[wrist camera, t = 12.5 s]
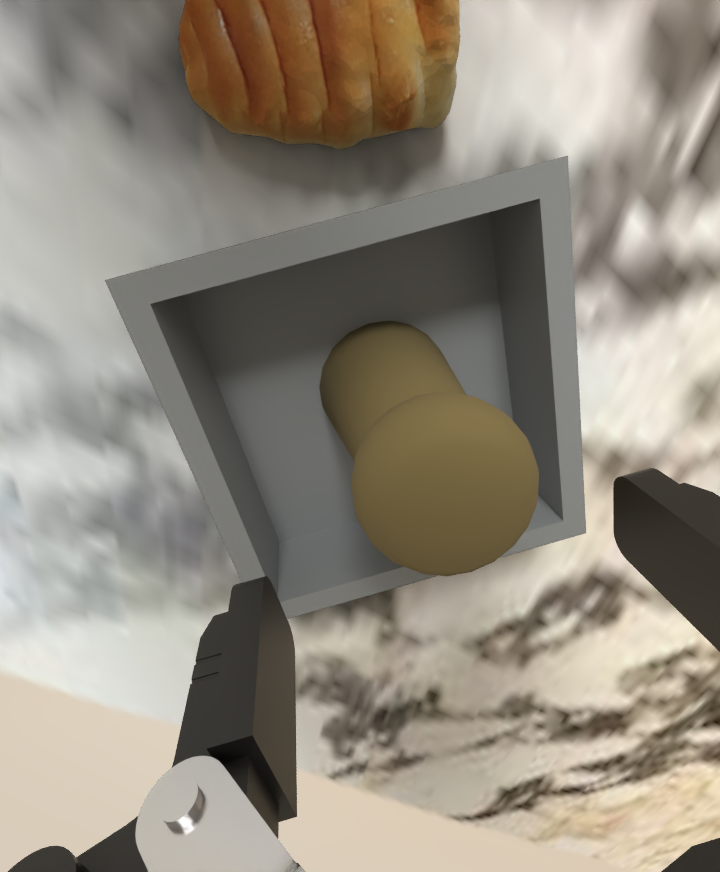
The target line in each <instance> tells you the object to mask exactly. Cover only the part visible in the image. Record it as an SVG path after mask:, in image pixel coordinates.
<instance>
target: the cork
mask: <svg viewBox="0 0 720 872" xmlns="http://www.w3.org/2000/svg"><path fill="white" fill-rule="evenodd" d="M319 389H320V395H321V401H322V407H323V409H324V410H325V412H326V414H327V416H328V418H329V420H330V422H331V423H332V425H333V427H334V428H335V430H336V432H337V433H338V435H339V437H340V438H341V440H342V442H343V443H344V445H345V447H346V448H347V450H348V452H349V453H350V455H351V456H352V458H353V460H354V461H355V462H354V467H353V471H352V476H351V481H350V482H351V489H352V495H353V502H354V508H355V513H356V517H357V519H358V521H359V523H360V524H361V526H362V528H363V530H364V532H365V533H366V535H367V537H368V538H369V540H370V541H371V542H372V544H373V545H374V546H375V548H377V549H378V550H379V551H380V552H381V553H383V554H384V555H385V556H386V557H387V558H389V559H390V560H391V561H392V562H394V563H396V564H399V565H401V566H404V567H406V568H409V569H411V570H414V571H417V572H419V573H422V574H426V575H440V576H451V575H456V574H462V573H467V572H472V571H474V570H476V569H478V568H481V567H483V566H485V565H487V564H489V563H492V562H494V561H495V560H497V559H498V558H499V557H500V556H502V555H503V554H504V553H505V552H507V551H508V550H509V549H511V548H512V547H513V546H514V545H515V544H516V542H517V541H518V540H519V538H520V537H521V536H522V534H523V533H524V532H525V530H526V529H527V528H528V526H529V524H530V521H531V518H532V516H533V513H534V511H535V508H536V505H537V500H538V487H539V469H538V466H537V463H536V460H535V457H534V454H533V451H532V448H531V446H530V444H529V441H528V439H527V437H526V436H525V435H524V433H523V432H522V431H521V430H520V429H519V428H518V426H517V425H516V424H515V423H514V422H513V420H512V419H511V418H510V417H509V416H508V415H506V414H505V413H504V412H503V411H501V410H500V409H498V408H496V407H494V406H492V405H491V404H489V403H487V402H485V401H483V400H481V399H479V398H478V397H473V396H468V395H466V393H465V391H464V389H463V388H462V386H461V384H460V383H459V381H458V379H457V377H456V376H455V374H454V372H453V371H452V369H451V367H450V365H449V364H448V362H447V360H446V359H445V357H444V355H443V354H442V352H441V350H440V349H439V348H438V346H437V345H436V344H435V343H434V342H433V341H432V339H431V338H430V337H429V336H428V335H427V334H426V333H424V332H422V331H420V330H419V329H417V328H415V327H413V326H412V325H410V324H405V323H400V322H394V321H382V322H375V323H368V324H366V325H364V326H362V327H360V328H358V329H356V330H354V331H352V332H350V333H348V334H347V335H346V336H345V337H344V338H343V339H342V340H341V341H340V342H338V343H337V344H336V345H335V346H334V347H333V348H332V350H331V352H330V354H329V356H328V358H327V360H326V362H325V363H324V365H323V368H322V374H321V380H320V386H319Z"/></svg>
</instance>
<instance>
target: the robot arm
mask: <svg viewBox="0 0 720 872" xmlns="http://www.w3.org/2000/svg"><path fill="white" fill-rule="evenodd" d="M614 537H615V540H616V543H617V545H618V548H619V549H620V551H621V553H622V554H623V556H624V557H625V558H626V559H627V560H628V561H629V562H630V563H631V564H632V565H633V566H634V567H635V568H636V569H637V570H638V571H639V572H640V573H641V574H642V575H643V576H644V577H645V578H646V579H647V580H648V581H649V582H650V583H651V584H652V585H653V586H654V587H655V588H656V589H657V590H658V591H659V592H660V593H661V594H662V595H663V596H664V597H665V598H666V599H667V600H668V601H669V602H670V603H671V604H672V605H673V606H674V607H675V608H676V609H677V610H678V611H679V612H680V613H681V614H682V615H683V616H684V617H685V618H686V619H687V620H688V621H689V622H690V623H691V624H692V625H693V626H694V627H695V628H696V629H697V630H698V631H699V632H700V633H701V634H702V635H703V636H704V637H705V638H706V639H707V640H708V641H709V642H710V643H711V644H712V645H713V646H714V647H715V648H716V649H717V650H718V651H719V652H720V497H719V496H718V495H716V494H715V493H713V492H710V491H707V490H704V489H701V488H698V487H695V486H692V485H690V484H687V483H682V484H678V483H677V482H675V481H674V480H672V479H671V478H669V477H668V476H666V475H665V474H663V473H662V472H660V471H659V470H657V469H654V468H648V469H645V470H641V471H638V472H634V473H631V474H627V475H624V476H620V477H618V478H616V479H615V481H614ZM294 817H297V785H296V703H295V648H294V641H293V636H292V632H291V628H290V625H289V623H288V620H287V618H286V615H285V613H284V611H283V608H282V606H281V604H280V601H279V599H278V596H277V594H276V592H275V589H274V587H273V585H272V582H271V580H270V579H269V577H268V576H264V577H261V578H257V579H254V580H250V581H247V582H243V583H240V584H236V585H234V586H233V588H232V591H231V597H230V604H229V610H228V612H226V613H222V614H219V615H215V616H214V617H213V618H212V620H211V622H210V623H209V625H208V627H207V628H206V630H205V631H204V633H203V635H202V636H201V638H200V643H199V647H198V652H197V657H196V665H195V666H194V670H193V675H192V684H190V689H189V694H188V698H187V703H186V707H185V712H184V717H183V721H182V726H181V731H180V735H179V740H178V744H177V749H176V754H175V758H174V762H173V766H172V768H171V769H170V770H169V771H167V772H166V773H165V774H164V775H163V776H162V777H161V778H160V779H159V780H158V781H157V783H156V784H155V785H154V787H153V788H152V789H151V791H150V792H149V794H148V795H147V797H146V799H145V801H144V803H143V805H142V807H141V810H140V812H139V815H138V816H137V817H136V818H135V819H134V820H132V821H131V822H130V823H128V824H127V825H126V826H124V827H123V828H121V829H120V830H118V831H116V832H115V833H113V834H112V835H110V836H109V837H107V838H106V839H104V840H103V841H101V842H99V843H98V844H96V845H95V846H93V847H92V848H90V849H89V850H87V851H86V852H84V853H83V854H81V855H79V856H78V857H75V856H74V855H73V854H72V853H71V852H70V851H69V850H67V849H66V848H64V847H60V846H49V847H46V848H42V849H40V850H38V851H36V852H33V853H32V854H30V855H28V856H27V857H25V858H24V859H22V860H21V861H20V862H18V863H17V864H16V865H15V866H13V868H11V869H10V870H9V871H8V872H305V871H304V869H303V868H302V867H301V866H300V865H299V864H298V863H296V862H295V861H294V860H293V859H292V857H291V856H290V855H289V853H288V852H287V851H286V849H285V848H284V847H283V845H282V844H281V843H280V842H279V840H278V822H280V821H284V820H287V819H290V818H294ZM662 872H720V838H718V839H715V840H711V841H708V842H705V843H701V844H698V845H695V846H692V847H691V848H690V849H688V850H687V851H686V852H685V853H684V854H682V855H681V856H680V857H679V858H677V859H676V860H675V861H674V862H673V863H671V864H670V865H669V866H668V867H667V868H665V869H664V870H663V871H662Z"/></svg>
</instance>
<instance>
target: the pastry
mask: <svg viewBox="0 0 720 872" xmlns="http://www.w3.org/2000/svg"><path fill="white" fill-rule="evenodd" d="M459 32H460V28H459V0H186V1H185V6H184V10H183V14H182V18H181V22H180V33H179V38H178V40H179V46H180V53H181V60H182V64H183V67H184V70H185V79H186V83H187V87H188V90H189V92H190V95H191V97H192V99H193V100H194V101H195V102H196V103H197V104H198V106H199V107H200V108H202V109H203V110H204V111H205V112H207V113H208V114H209V115H210V116H212V117H213V118H214V119H215V120H217V121H218V122H219V123H220V124H221V125H222V126H223V127H225V128H226V129H227V130H228V131H229V132H232V133H235V134H247V135H255V136H265V137H268V138H271V139H274V140H276V141H279V142H281V143H284V144H289V143H291V144H305V143H312V144H322V145H326V146H330V147H333V148H335V149H345V148H349V147H352V146H354V145H355V144H356V143H358V142H359V141H360V140H362V139H364V138H374V137H380V136H383V135H389V134H392V133H397V132H400V131H404V130H409V129H413V128H417V127H421V128H434V127H437V126H438V125H440V124H441V123H442V122H443V121H444V120H445V118H446V117H447V115H448V113H449V112H450V108H451V104H452V100H453V95H454V90H455V87H456V78H457V75H456V61H457V57H458V51H459V43H460V33H459Z"/></svg>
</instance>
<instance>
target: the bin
mask: <svg viewBox="0 0 720 872" xmlns="http://www.w3.org/2000/svg"><path fill="white" fill-rule="evenodd" d="M105 281H106V283H107V286H108V288H109V290H110V292H111V295H112V297H113V299H114V301H115V303H116V306H117V308H118V310H119V312H120V314H121V317H122V319H123V321H124V323H125V325H126V328H127V330H128V332H129V334H130V336H131V339H132V341H133V343H134V345H135V347H136V350H137V352H138V354H139V356H140V359H141V361H142V363H143V365H144V367H145V370H146V372H147V374H148V376H149V378H150V381H151V383H152V385H153V387H154V389H155V392H156V394H157V396H158V398H159V400H160V403H161V405H162V407H163V409H164V411H165V414H166V416H167V418H168V420H169V422H170V425H171V427H172V429H173V431H174V434H175V436H176V438H177V440H178V442H179V445H180V447H181V449H182V451H183V453H184V456H185V458H186V460H187V462H188V464H189V467H190V469H191V471H192V473H193V475H194V478H195V480H196V482H197V484H198V486H199V489H200V491H201V493H202V495H203V498H204V500H205V502H206V504H207V506H208V509H209V511H210V513H211V515H212V517H213V520H214V522H215V524H216V526H217V528H218V531H219V533H220V535H221V537H222V539H223V542H224V544H225V546H226V548H227V550H228V553H229V555H230V557H231V559H232V562H233V564H234V566H235V568H236V570H237V573H238V575H239V577H240V579H241V581H242V583H243V582H247V581H250V580H254V579H257V578H261V577H264V576H268V577H269V579H270V580H271V582H272V585H273V587H274V589H275V592H276V594H277V596H278V599H279V601H280V604H281V606H282V608H283V611H284V613H285V615H286V618H287V619H289V618H292V617H295V616H299V615H302V614H306V613H309V612H313V611H316V610H320V609H323V608H327V607H330V606H334V605H337V604H341V603H344V602H348V601H351V600H355V599H358V598H362V597H365V596H369V595H372V594H376V593H379V592H382V591H386V590H389V589H393V588H396V587H400V586H403V585H407V584H410V583H414V582H417V581H421V580H424V579H428V578H431V577H435V576H438V575H426V574H422V573H419V572H417V571H414V570H411V569H409V568H406V567H404V566H401V565H399V564H396V563H394V562H392V561H391V560H390V559H389V558H387V557H386V556H385V555H384V554H383V553H381V552H380V551H379V550H378V549H377V548H375V546H374V545H373V544H372V542H371V541H370V540H369V538H368V537H367V535H366V533H365V532H364V530H363V528H362V526H361V524H360V523H359V521H358V519H357V517H356V513H355V508H354V502H353V495H352V489H351V482H350V481H351V476H352V471H353V467H354V462H355V461H354V460H353V458H352V456H351V455H350V453H349V452H348V450H347V448H346V447H345V445H344V443H343V442H342V440H341V438H340V437H339V435H338V433H337V432H336V430H335V428H334V427H333V425H332V423H331V422H330V420H329V418H328V416H327V414H326V412H325V410H324V409H323V407H322V401H321V395H320V389H319V386H320V380H321V374H322V368H323V365H324V363H325V362H326V360H327V358H328V356H329V354H330V352H331V350H332V348H333V347H334V346H335V345H336V344H337V343H338V342H340V341H341V340H342V339H343V338H344V337H345V336H346V335H347V334H348V333H350V332H352V331H354V330H356V329H358V328H360V327H362V326H364V325H366V324H368V323H375V322H382V321H394V322H400V323H405V324H410V325H412V326H413V327H415V328H417V329H419V330H420V331H422V332H424V333H426V334H427V335H428V336H429V337H430V338H431V339H432V341H433V342H434V343H435V344H436V345H437V346H438V348H439V349H440V350H441V352H442V354H443V355H444V357H445V359H446V360H447V362H448V364H449V365H450V367H451V369H452V371H453V372H454V374H455V376H456V377H457V379H458V381H459V383H460V384H461V386H462V388H463V389H464V391H465V393H466V395H468V396H473V397H478V398H479V399H481V400H483V401H485V402H487V403H489V404H491V405H492V406H494V407H496V408H498V409H500V410H501V411H503V412H504V413H505V414H506V415H508V416H509V417H510V418H511V419H512V420H513V422H514V423H515V424H516V425H517V426H518V428H519V429H520V430H521V431H522V432H523V433H524V435H525V436H526V437H527V439H528V441H529V444H530V446H531V448H532V451H533V454H534V457H535V460H536V463H537V466H538V469H539V487H538V500H537V505H536V508H535V511H534V513H533V516H532V518H531V521H530V524H529V526H528V528H527V529H526V530H525V532H524V533H523V534H522V536H521V537H520V538H519V540H518V541H517V542H516V544H515V545H514V546H513V547H512V548H511V549H509V550H508V551H507V552H505V553H504V554H503V555H502V556H500V557H499V558H501V557H504V556H508V555H511V554H515V553H518V552H522V551H525V550H529V549H532V548H536V547H539V546H543V545H546V544H550V543H553V542H557V541H560V540H563V539H567V538H570V537H574V536H577V535H581V534H584V533H586V521H585V501H584V480H583V460H582V439H581V419H580V398H579V378H578V357H577V337H576V316H575V296H574V275H573V255H572V234H571V214H570V193H569V173H568V156H565V157H561V158H557V159H554V160H550V161H546V162H543V163H539V164H535V165H531V166H528V167H524V168H520V169H517V170H513V171H509V172H505V173H502V174H498V175H494V176H491V177H487V178H483V179H479V180H476V181H472V182H468V183H465V184H461V185H457V186H453V187H450V188H446V189H442V190H439V191H435V192H431V193H427V194H424V195H420V196H416V197H413V198H409V199H405V200H401V201H398V202H394V203H390V204H387V205H383V206H379V207H375V208H372V209H368V210H364V211H361V212H357V213H353V214H349V215H346V216H342V217H338V218H335V219H331V220H327V221H323V222H320V223H316V224H312V225H309V226H305V227H301V228H297V229H294V230H290V231H286V232H283V233H279V234H275V235H271V236H268V237H264V238H260V239H257V240H253V241H249V242H245V243H242V244H238V245H234V246H231V247H227V248H223V249H219V250H216V251H212V252H208V253H205V254H201V255H197V256H193V257H190V258H186V259H182V260H179V261H175V262H171V263H167V264H164V265H160V266H156V267H153V268H149V269H145V270H141V271H138V272H134V273H130V274H127V275H123V276H119V277H115V278H112V279H108V280H105Z"/></svg>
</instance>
